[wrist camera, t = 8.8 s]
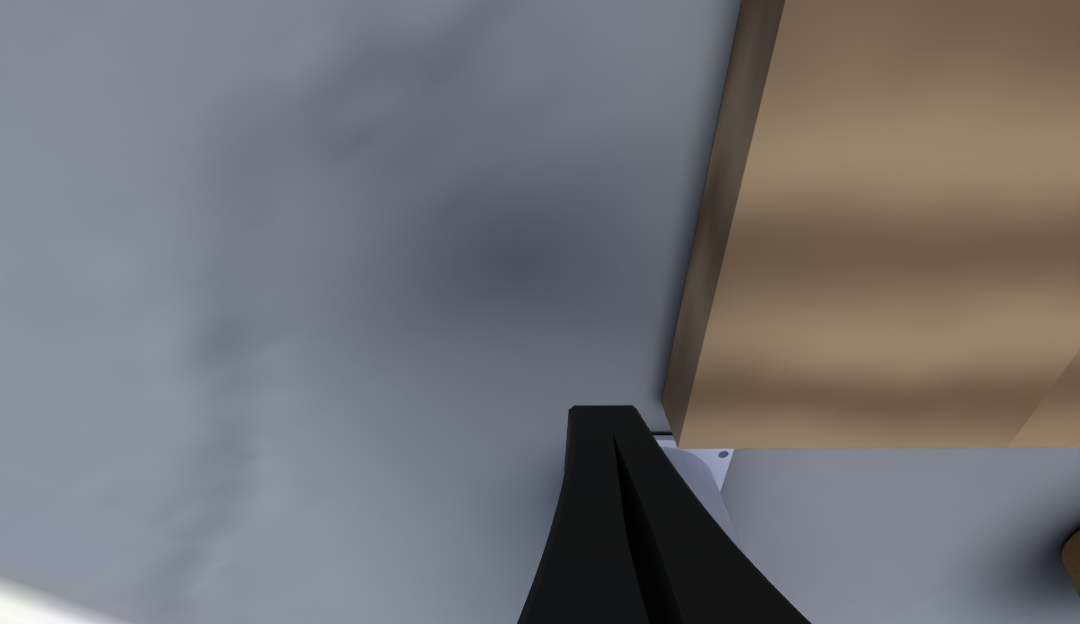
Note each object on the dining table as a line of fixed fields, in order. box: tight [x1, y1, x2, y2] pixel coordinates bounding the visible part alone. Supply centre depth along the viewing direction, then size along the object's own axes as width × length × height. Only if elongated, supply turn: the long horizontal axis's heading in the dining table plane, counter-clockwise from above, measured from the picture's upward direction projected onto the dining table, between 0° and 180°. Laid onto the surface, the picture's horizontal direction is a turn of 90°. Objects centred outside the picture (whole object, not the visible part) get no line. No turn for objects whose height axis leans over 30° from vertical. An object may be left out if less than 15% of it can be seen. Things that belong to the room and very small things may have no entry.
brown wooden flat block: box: [661, 0, 1080, 449], centre depth 18 cm, size 18×22×3 cm
